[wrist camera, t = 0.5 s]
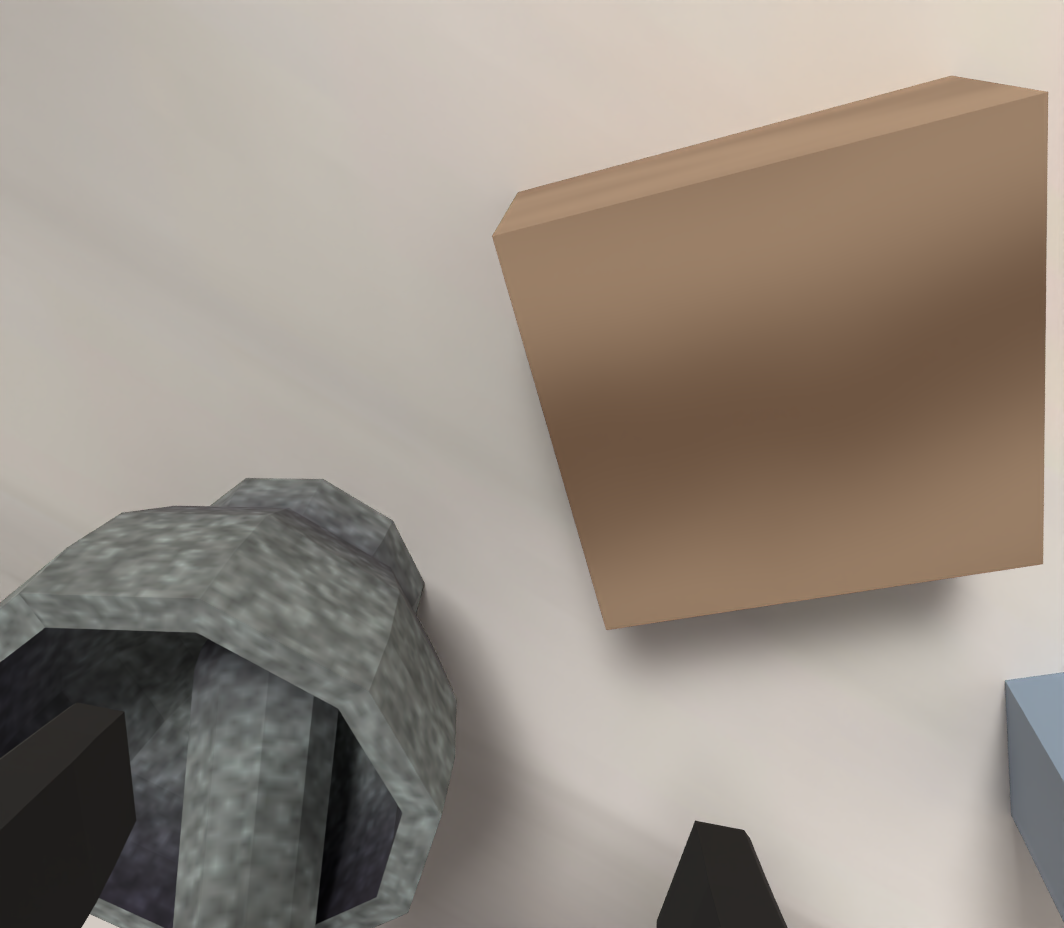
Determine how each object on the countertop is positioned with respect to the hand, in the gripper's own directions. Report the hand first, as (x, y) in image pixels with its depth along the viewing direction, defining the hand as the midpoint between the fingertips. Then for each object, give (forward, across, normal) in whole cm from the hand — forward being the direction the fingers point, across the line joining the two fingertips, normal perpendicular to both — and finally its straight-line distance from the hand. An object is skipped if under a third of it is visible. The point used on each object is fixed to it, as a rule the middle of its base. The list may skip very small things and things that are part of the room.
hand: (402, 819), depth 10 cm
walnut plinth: (+10, -5, -4) cm, 12 cm away
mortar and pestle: (+10, +4, +5) cm, 12 cm away
